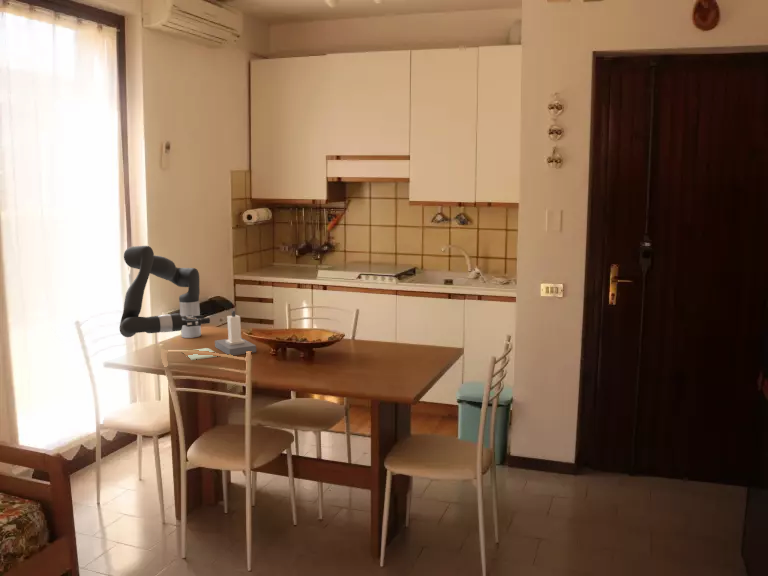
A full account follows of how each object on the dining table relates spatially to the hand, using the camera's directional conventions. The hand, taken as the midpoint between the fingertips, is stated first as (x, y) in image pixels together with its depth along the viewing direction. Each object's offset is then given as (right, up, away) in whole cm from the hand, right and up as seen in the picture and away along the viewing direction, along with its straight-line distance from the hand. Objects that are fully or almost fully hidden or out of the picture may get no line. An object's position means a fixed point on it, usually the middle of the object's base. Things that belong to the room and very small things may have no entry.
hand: (206, 319), depth 338 cm
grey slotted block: (+11, -14, +9) cm, 20 cm away
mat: (-3, -15, +1) cm, 16 cm away
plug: (+11, -14, +9) cm, 20 cm away
